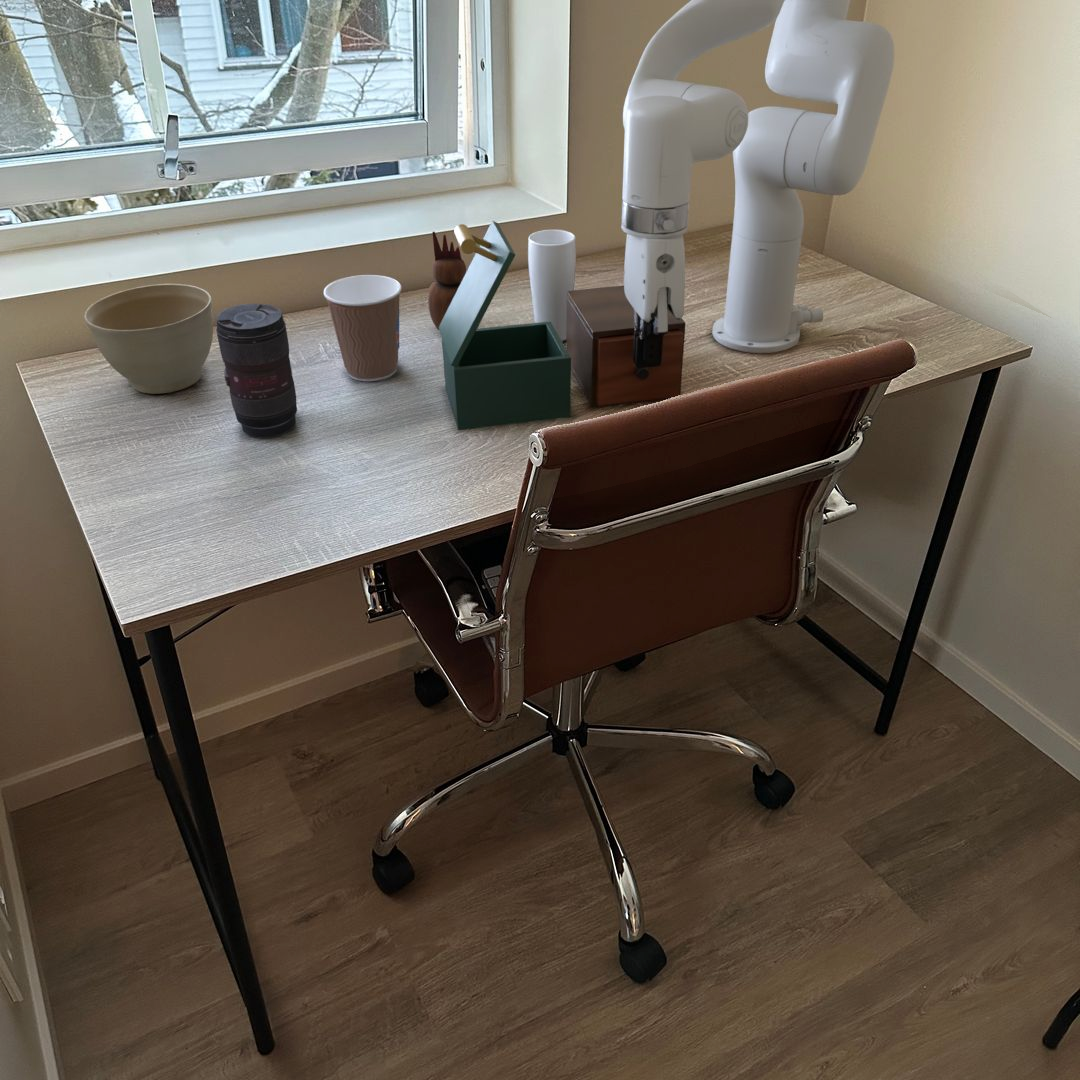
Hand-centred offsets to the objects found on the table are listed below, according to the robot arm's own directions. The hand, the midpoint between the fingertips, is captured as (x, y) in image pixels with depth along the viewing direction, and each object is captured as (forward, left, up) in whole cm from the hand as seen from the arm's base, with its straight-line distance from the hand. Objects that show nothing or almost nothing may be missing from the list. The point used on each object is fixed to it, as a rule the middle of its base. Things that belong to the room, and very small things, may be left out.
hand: (646, 364), depth 126 cm
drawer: (0, -9, -7) cm, 11 cm away
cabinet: (0, -11, -8) cm, 13 cm away
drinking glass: (+6, -27, -8) cm, 29 cm away
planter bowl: (+61, -26, -8) cm, 67 cm away
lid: (+20, -8, +8) cm, 22 cm away
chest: (+16, -8, -8) cm, 20 cm away
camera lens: (+47, -9, -8) cm, 48 cm away
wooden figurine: (+20, -33, -8) cm, 39 cm away
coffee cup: (+33, -22, -8) cm, 40 cm away
